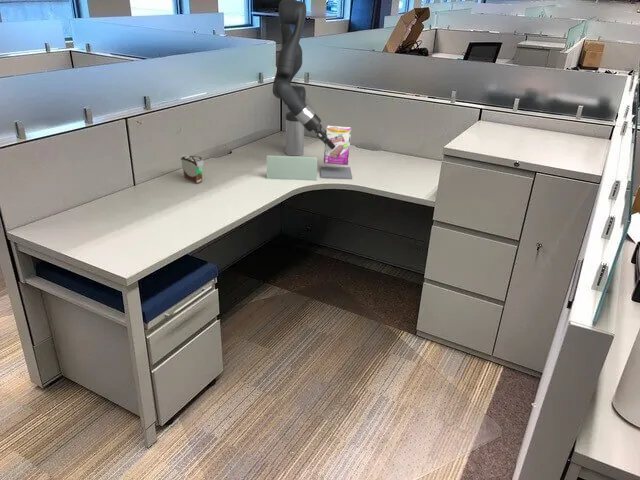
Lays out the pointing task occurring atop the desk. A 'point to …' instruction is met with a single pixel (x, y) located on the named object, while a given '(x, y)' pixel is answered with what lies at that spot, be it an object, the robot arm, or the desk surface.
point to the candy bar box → (338, 145)
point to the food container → (192, 168)
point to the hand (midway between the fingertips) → (333, 146)
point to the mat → (336, 172)
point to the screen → (292, 167)
